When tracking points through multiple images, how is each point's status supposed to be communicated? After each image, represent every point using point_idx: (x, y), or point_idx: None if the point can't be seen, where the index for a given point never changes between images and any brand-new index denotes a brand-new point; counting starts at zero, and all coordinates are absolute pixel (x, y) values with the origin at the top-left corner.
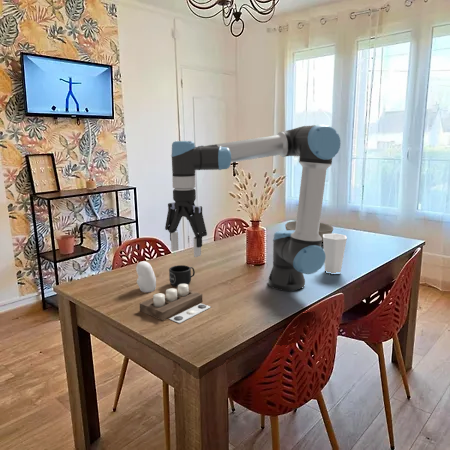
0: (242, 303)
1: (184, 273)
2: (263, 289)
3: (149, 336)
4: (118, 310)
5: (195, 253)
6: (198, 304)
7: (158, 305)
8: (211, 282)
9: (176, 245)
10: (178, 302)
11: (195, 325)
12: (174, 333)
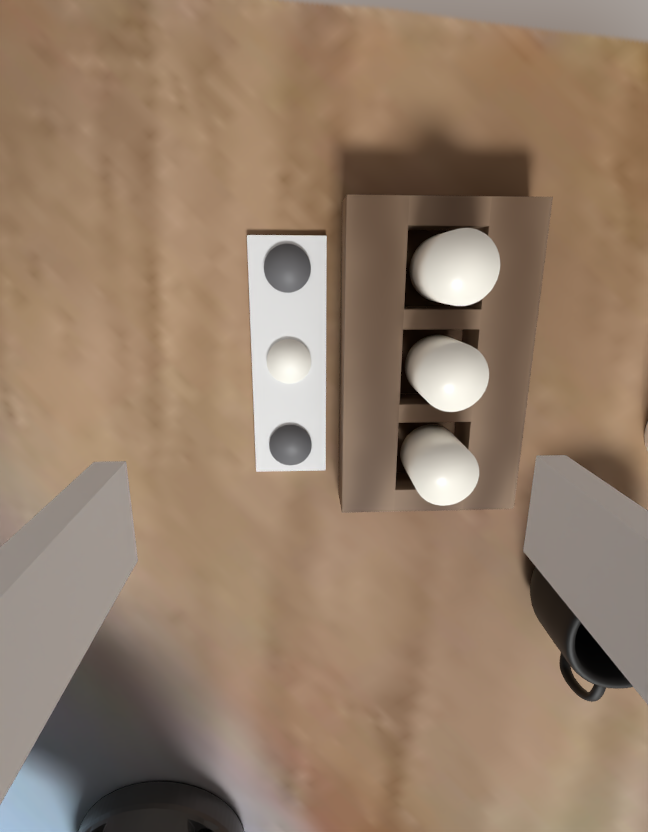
0: (172, 590)
1: (568, 610)
2: (205, 750)
3: (261, 11)
4: (641, 129)
5: (69, 484)
6: (324, 453)
7: (428, 240)
8: (457, 676)
9: (563, 558)
10: (370, 353)
11: (170, 273)
12: (184, 132)
